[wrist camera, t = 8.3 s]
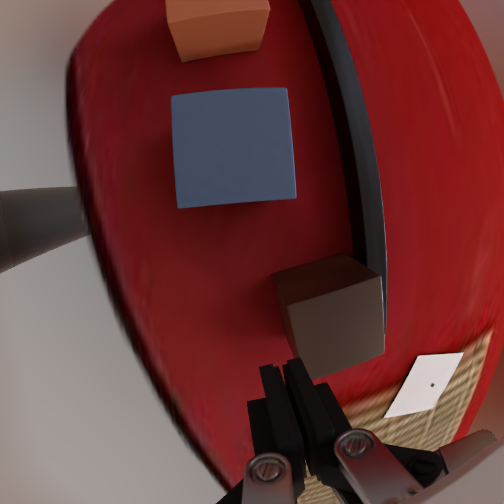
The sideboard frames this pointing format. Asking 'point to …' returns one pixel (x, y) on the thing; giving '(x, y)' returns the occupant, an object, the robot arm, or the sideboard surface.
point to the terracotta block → (216, 26)
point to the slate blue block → (232, 146)
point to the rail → (351, 138)
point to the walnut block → (331, 313)
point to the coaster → (424, 383)
